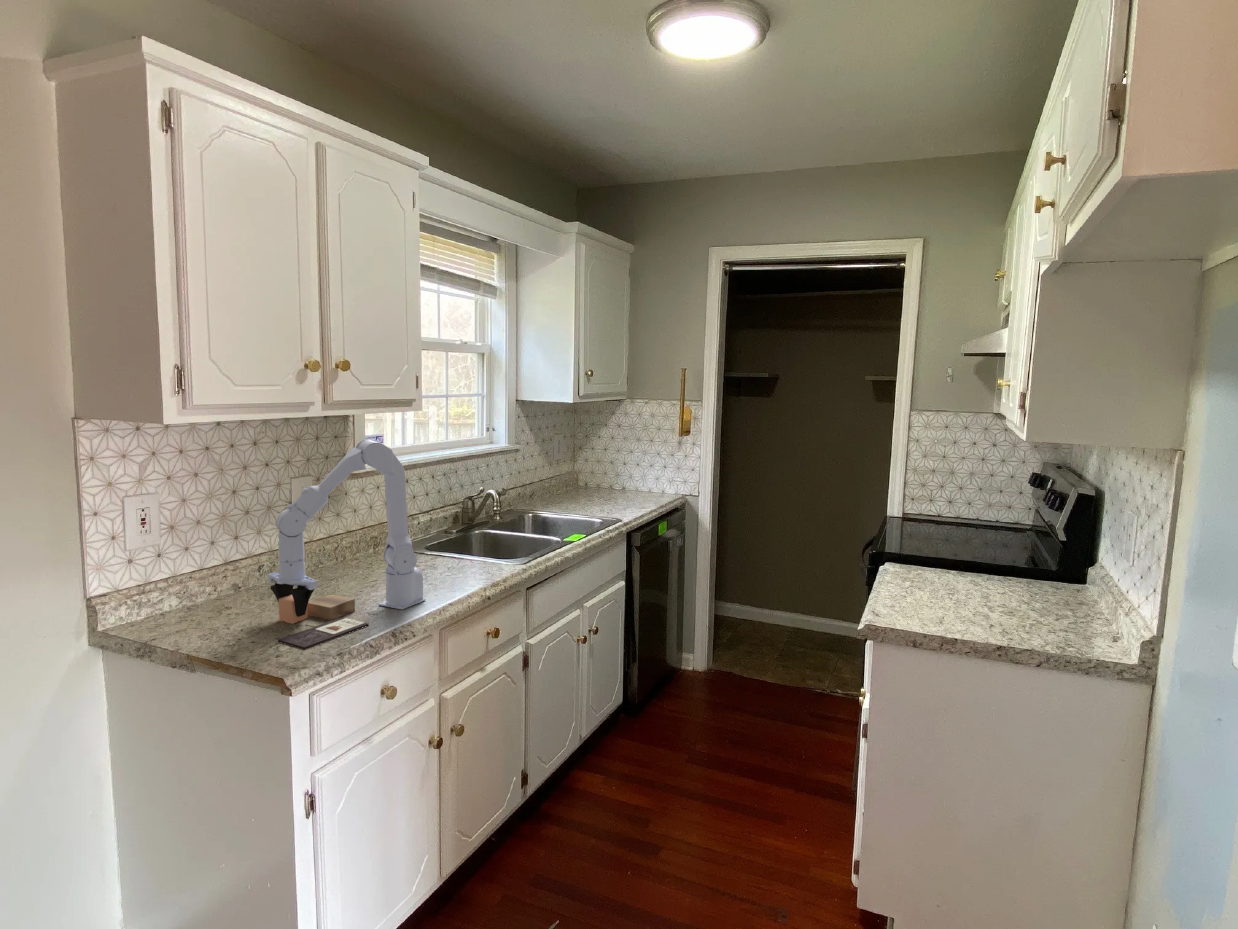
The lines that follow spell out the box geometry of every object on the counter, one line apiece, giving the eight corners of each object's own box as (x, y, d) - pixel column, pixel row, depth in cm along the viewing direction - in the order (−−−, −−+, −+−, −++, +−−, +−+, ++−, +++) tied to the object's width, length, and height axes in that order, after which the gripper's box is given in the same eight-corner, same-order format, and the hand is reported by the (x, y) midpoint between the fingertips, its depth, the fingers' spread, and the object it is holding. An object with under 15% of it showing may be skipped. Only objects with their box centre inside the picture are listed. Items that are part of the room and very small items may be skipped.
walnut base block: (331, 607, 190) (331, 594, 190) (354, 612, 187) (354, 598, 186) (306, 616, 183) (306, 602, 182) (330, 621, 179) (330, 607, 179)
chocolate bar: (277, 639, 164) (342, 617, 180) (277, 643, 165) (342, 620, 180) (304, 647, 160) (368, 623, 176) (304, 651, 160) (368, 627, 176)
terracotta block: (294, 615, 182) (293, 594, 181) (307, 618, 180) (307, 596, 180) (279, 620, 178) (278, 598, 177) (292, 623, 176) (291, 601, 176)
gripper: (256, 559, 177) (258, 613, 178) (299, 567, 171) (301, 623, 172) (281, 553, 183) (282, 605, 185) (323, 560, 177) (325, 615, 179)
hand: (293, 613), depth 179 cm, fingers closed on terracotta block, 4 cm apart
